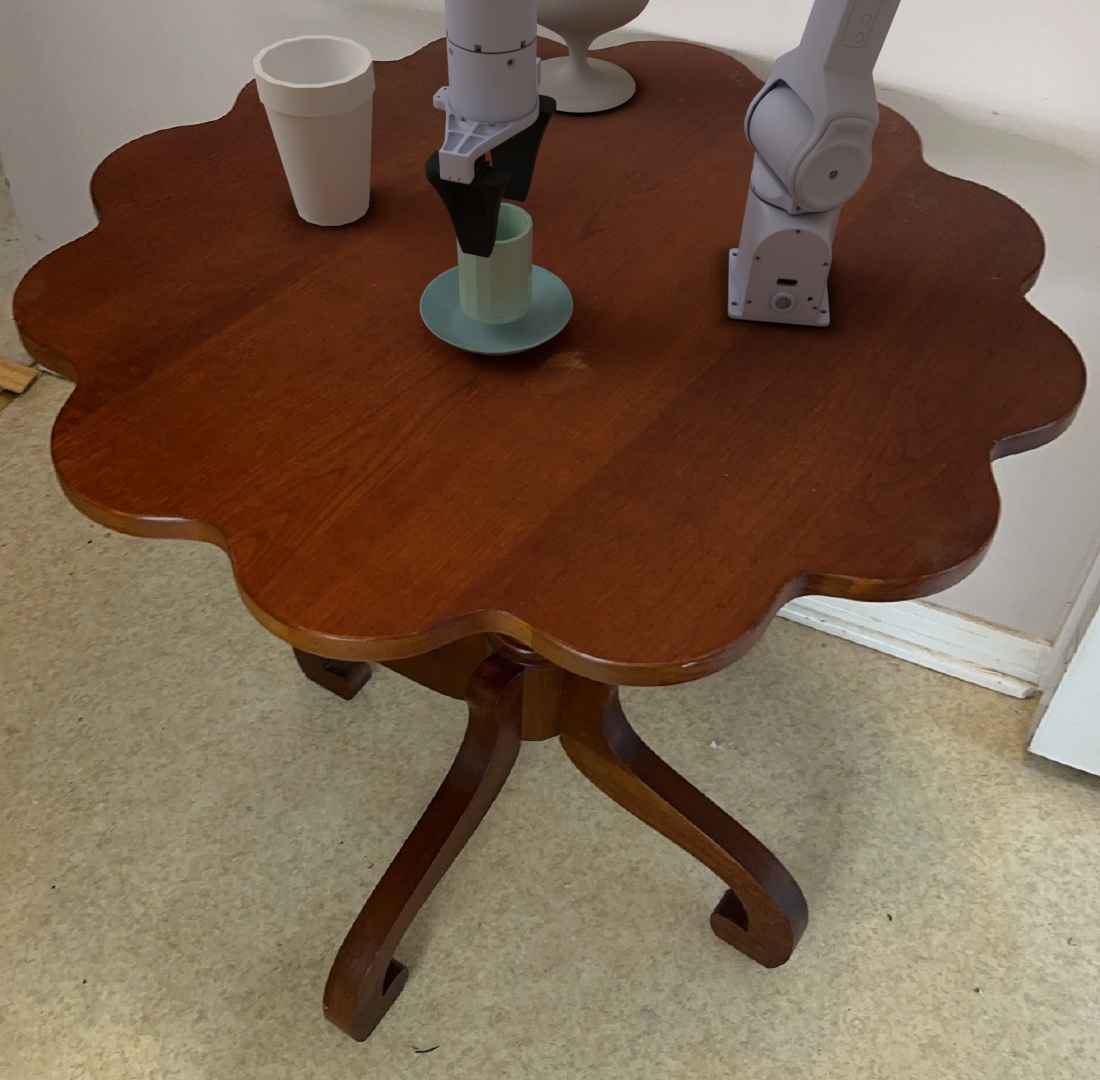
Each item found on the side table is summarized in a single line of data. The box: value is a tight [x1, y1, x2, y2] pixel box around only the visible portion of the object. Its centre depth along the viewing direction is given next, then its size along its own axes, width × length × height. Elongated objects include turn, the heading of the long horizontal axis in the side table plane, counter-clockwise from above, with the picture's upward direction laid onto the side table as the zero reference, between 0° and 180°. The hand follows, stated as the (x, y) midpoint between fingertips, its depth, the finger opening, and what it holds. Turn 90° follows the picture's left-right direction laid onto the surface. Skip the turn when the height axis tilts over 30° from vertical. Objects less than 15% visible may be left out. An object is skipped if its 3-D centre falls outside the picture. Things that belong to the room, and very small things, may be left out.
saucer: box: [419, 263, 574, 356], centre depth 85 cm, size 12×12×2 cm
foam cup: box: [252, 34, 376, 227], centre depth 92 cm, size 10×9×13 cm
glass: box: [455, 201, 534, 324], centre depth 81 cm, size 6×6×7 cm
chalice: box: [537, 0, 650, 113], centre depth 107 cm, size 14×14×15 cm
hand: (495, 224), depth 79 cm, fingers open, 7 cm apart
